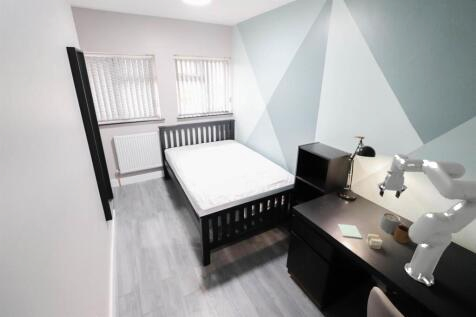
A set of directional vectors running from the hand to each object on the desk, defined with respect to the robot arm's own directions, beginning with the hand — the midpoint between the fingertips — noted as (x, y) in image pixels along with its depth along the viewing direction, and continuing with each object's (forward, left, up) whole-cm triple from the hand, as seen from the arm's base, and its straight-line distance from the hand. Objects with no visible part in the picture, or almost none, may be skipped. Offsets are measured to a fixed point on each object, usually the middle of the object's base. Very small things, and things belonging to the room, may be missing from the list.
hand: (388, 196), depth 145 cm
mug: (-12, -10, -26) cm, 31 cm away
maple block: (-18, +11, -26) cm, 34 cm away
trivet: (-7, +22, -26) cm, 35 cm away
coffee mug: (0, -8, -26) cm, 28 cm away
